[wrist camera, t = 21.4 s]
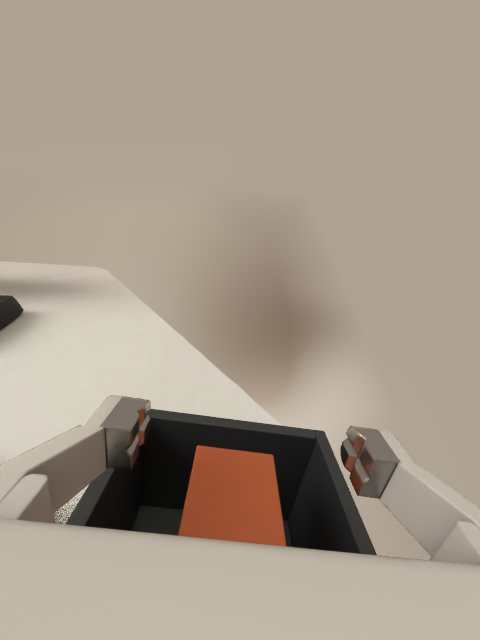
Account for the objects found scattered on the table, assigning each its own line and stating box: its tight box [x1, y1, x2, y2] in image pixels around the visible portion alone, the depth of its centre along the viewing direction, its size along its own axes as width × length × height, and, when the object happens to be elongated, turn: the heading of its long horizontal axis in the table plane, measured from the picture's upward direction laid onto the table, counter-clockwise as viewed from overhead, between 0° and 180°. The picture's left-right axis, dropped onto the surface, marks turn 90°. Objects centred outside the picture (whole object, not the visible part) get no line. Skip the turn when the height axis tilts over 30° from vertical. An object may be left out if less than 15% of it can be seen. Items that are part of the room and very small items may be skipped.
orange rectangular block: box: [178, 445, 287, 547], centre depth 12 cm, size 4×5×11 cm
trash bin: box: [66, 409, 377, 555], centre depth 12 cm, size 14×14×10 cm
